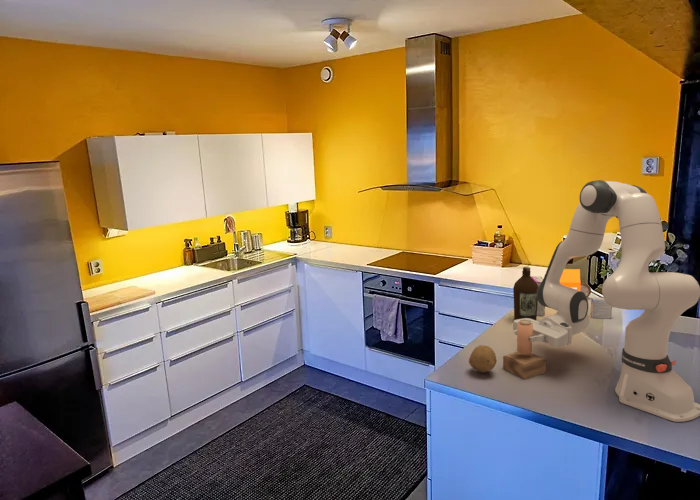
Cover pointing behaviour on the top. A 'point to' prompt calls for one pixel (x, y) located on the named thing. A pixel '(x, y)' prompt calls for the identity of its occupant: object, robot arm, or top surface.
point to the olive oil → (525, 296)
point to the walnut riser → (524, 364)
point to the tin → (585, 288)
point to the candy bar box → (539, 307)
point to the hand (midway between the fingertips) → (522, 336)
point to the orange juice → (571, 278)
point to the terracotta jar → (524, 336)
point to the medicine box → (600, 308)
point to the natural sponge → (482, 358)
